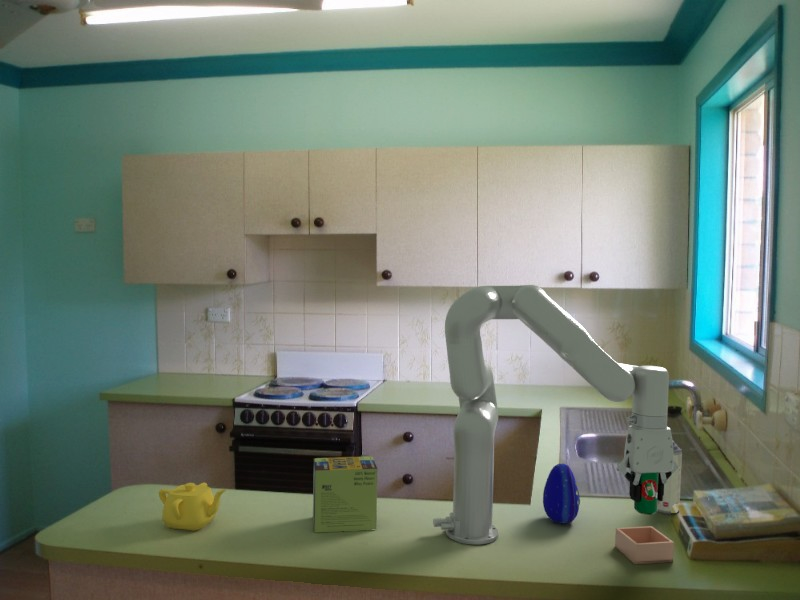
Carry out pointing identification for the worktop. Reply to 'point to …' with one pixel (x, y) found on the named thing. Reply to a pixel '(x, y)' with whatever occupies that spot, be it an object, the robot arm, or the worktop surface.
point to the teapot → (189, 506)
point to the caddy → (644, 545)
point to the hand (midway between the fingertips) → (646, 498)
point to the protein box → (344, 494)
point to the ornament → (561, 495)
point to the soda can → (648, 494)
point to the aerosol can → (672, 485)
